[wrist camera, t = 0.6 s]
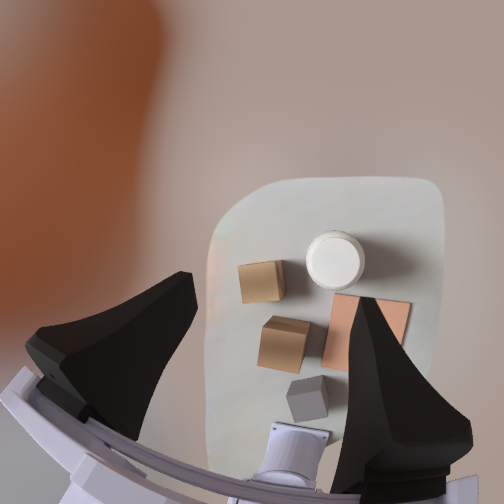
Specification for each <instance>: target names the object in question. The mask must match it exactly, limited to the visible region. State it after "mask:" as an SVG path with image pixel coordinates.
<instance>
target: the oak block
mask: <svg viewBox="0 0 504 504" xmlns="http://www.w3.org/2000/svg"><path fill="white" fill-rule="evenodd" d="M238 273H239V280H240V287H241V294H242V301H243V304H245V303H257V302H268V301H279V300H281V299H282V298H283V297H284V296H285V295H286V288H285V280H284V273H283V265H282V260H276V261H268V262H261V263H253V264H247V265H242V266H238Z"/></svg>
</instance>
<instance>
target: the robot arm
mask: <svg viewBox="0 0 504 504" xmlns="http://www.w3.org/2000/svg"><path fill="white" fill-rule="evenodd" d="M197 309H198V305H197V299H196V294H195V288H194V282H193V276H192V273H188V272H182V271H180V272H177V273H175V274H173V275H172V276H170V277H168V278H166V279H165V280H163V281H161V282H160V283H158V284H156V285H155V286H153V287H151V288H149V289H148V290H146V291H144V292H143V293H141V294H139V295H137V296H135V297H133V298H132V299H129V300H128V301H126V302H124V303H122V304H120V305H118V306H116V307H114V308H111V309H109V310H106V311H104V312H101V313H99V314H96V315H93V316H90V317H87V318H84V319H81V320H77V321H74V322H69V323H65V324H60V325H54V326H47V327H41V328H39V329H38V330H37V331H36V333H35V334H34V335H33V336H32V337H31V338H30V339H29V340H28V341H27V342H26V343H25V348H26V350H27V352H28V354H29V355H30V357H31V358H32V360H33V361H34V362H35V364H36V365H37V366H38V368H39V369H40V370H41V372H42V373H43V374H44V377H43V378H42V379H41V378H40V377H39V376H38V375H36V374H35V373H34V372H33V371H32V370H31V369H29V368H28V367H27V366H24V367H23V368H22V369H21V371H20V372H19V373H18V374H17V375H16V377H15V378H14V379H13V380H12V381H11V383H10V384H9V385H8V386H7V388H6V389H5V390H4V391H3V393H2V394H1V395H0V401H1V402H2V403H3V404H4V406H5V407H6V408H7V409H8V410H9V411H10V413H11V414H12V415H13V416H14V417H15V418H16V420H17V421H18V422H19V423H20V424H21V425H22V426H23V427H24V429H25V430H26V431H27V432H28V433H29V434H30V435H31V436H32V437H33V438H34V440H35V441H36V442H37V443H38V444H39V445H40V446H41V447H42V448H43V449H44V450H45V451H46V452H47V453H48V454H49V455H51V456H52V457H53V458H54V459H55V460H56V461H57V462H58V463H59V464H60V465H61V466H63V467H64V468H65V469H66V470H67V471H69V472H70V473H71V475H70V480H71V484H70V486H69V488H68V489H67V491H66V492H65V494H64V496H63V498H62V499H61V501H60V503H59V504H207V503H204V502H201V501H198V500H196V499H193V498H190V497H188V496H185V495H182V494H180V493H177V492H174V491H172V490H170V489H168V488H165V487H162V486H160V485H158V484H156V483H154V482H152V481H149V480H147V479H145V478H146V476H147V475H146V473H144V472H143V471H141V470H139V469H138V468H136V467H135V466H134V465H132V464H131V463H129V462H128V461H127V460H126V459H125V458H123V457H122V456H120V455H118V454H117V453H115V452H114V451H112V450H111V448H112V449H114V450H116V451H118V452H120V453H122V454H123V455H125V456H127V457H129V458H131V459H133V460H135V461H137V462H139V463H141V464H143V465H145V466H147V467H149V468H151V469H154V470H156V471H158V472H160V473H163V474H165V475H167V476H170V477H172V478H175V479H177V480H180V481H182V482H185V483H188V484H191V485H193V486H196V487H200V488H202V489H205V490H209V491H212V492H215V493H218V494H222V495H225V496H229V499H228V502H227V504H478V494H479V491H478V490H479V488H478V487H479V486H478V485H479V484H478V475H477V474H475V475H472V476H468V477H464V478H460V479H455V480H452V481H449V482H446V476H447V475H449V474H450V465H451V464H453V463H454V462H456V461H457V460H459V459H460V458H462V457H463V456H464V455H466V454H467V453H468V452H469V451H470V450H471V449H472V447H473V435H472V428H471V423H470V420H468V419H467V418H466V417H465V416H463V415H462V414H461V413H460V412H459V411H457V410H456V409H455V408H454V407H452V406H451V405H450V404H449V403H448V402H447V401H446V400H445V399H444V398H443V397H442V396H441V395H440V394H439V393H438V392H437V391H436V390H435V389H434V388H433V387H432V386H431V385H430V384H429V382H428V381H427V380H426V379H425V378H424V377H423V375H422V374H421V373H420V372H419V371H418V369H417V368H416V367H415V365H414V364H413V363H412V361H411V360H410V358H409V357H408V356H407V354H406V353H405V351H404V349H403V348H402V346H401V345H400V343H399V341H398V340H397V338H396V336H395V335H394V333H393V331H392V329H391V328H390V326H389V324H388V322H387V320H386V319H385V317H384V315H383V313H382V311H381V309H380V307H379V305H378V303H377V301H376V300H375V298H370V297H361V296H360V299H359V302H358V306H357V310H356V313H355V317H354V320H353V324H352V327H351V331H350V339H349V351H348V368H349V400H348V412H347V419H346V426H345V432H344V437H343V443H342V448H341V452H340V457H339V462H338V465H337V469H336V473H335V477H334V481H333V484H332V487H331V490H330V494H327V493H323V492H322V490H321V489H316V492H315V487H316V482H315V479H316V474H317V469H318V464H319V461H320V459H321V456H322V453H323V451H324V448H325V446H326V443H327V440H328V437H329V432H328V431H322V430H315V429H309V428H303V427H297V426H292V425H287V424H282V423H277V422H274V423H273V424H272V427H271V431H270V436H269V441H268V445H267V450H266V454H265V458H264V460H263V462H262V464H261V467H260V469H259V471H258V473H253V475H252V477H251V479H250V480H249V479H246V478H244V479H242V480H239V479H235V478H231V477H227V476H224V475H220V474H217V473H213V472H210V471H207V470H204V469H201V468H198V467H194V466H192V465H189V464H186V463H184V462H181V461H178V460H176V459H173V458H171V457H168V456H166V455H163V454H161V453H159V452H156V451H154V450H152V449H150V448H147V447H145V446H143V445H141V444H139V443H137V442H135V441H137V440H138V437H139V433H140V430H141V427H142V423H143V420H144V417H145V414H146V411H147V408H148V406H149V403H150V400H151V398H152V395H153V393H154V390H155V388H156V386H157V383H158V381H159V379H160V377H161V375H162V372H163V370H164V369H165V367H166V365H167V363H168V361H169V360H170V358H171V357H172V355H173V353H174V352H175V350H176V349H177V347H178V345H179V344H180V342H181V341H182V339H183V337H184V336H185V334H186V332H187V331H188V329H189V327H190V326H191V323H192V321H193V319H194V317H195V314H196V312H197ZM275 428H276V429H275ZM324 436H325V437H324ZM110 447H111V448H110Z"/></svg>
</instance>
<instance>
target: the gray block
mask: <svg viewBox="0 0 504 504" xmlns="http://www.w3.org/2000/svg"><path fill="white" fill-rule="evenodd" d="M286 398H287V401H288V404H289V407H290V410H291V413H292V416H293V419H294V422H295V423H297V422H303V421H309V420H315V419H321V418H326V417H328V411H329V402H330V400H329V396H328V393H327V389H326V385H325V381H324V378H323V375H320V376H316V377H311V378H307V379H302V380H297V381H292V382H291V385H290V388H289V390H288V393H287V395H286Z"/></svg>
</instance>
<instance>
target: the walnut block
mask: <svg viewBox="0 0 504 504" xmlns="http://www.w3.org/2000/svg"><path fill="white" fill-rule="evenodd" d="M309 328H310V322H309V321H302V320H296V319H290V318H284V317H278V316H272V317H271V318H270V319H269V321H268V322H267V323H266V324H265V325H264V326H263V327H262V334H261V342H260V349H259V356H258V363H257V366H261V367H266V368H270V369H275V370H280V371H285V372H291V373H296V374H299V371H300V368H301V365H302V362H303V359H304V355H305V350H306V345H307V339H308V334H309Z"/></svg>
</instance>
